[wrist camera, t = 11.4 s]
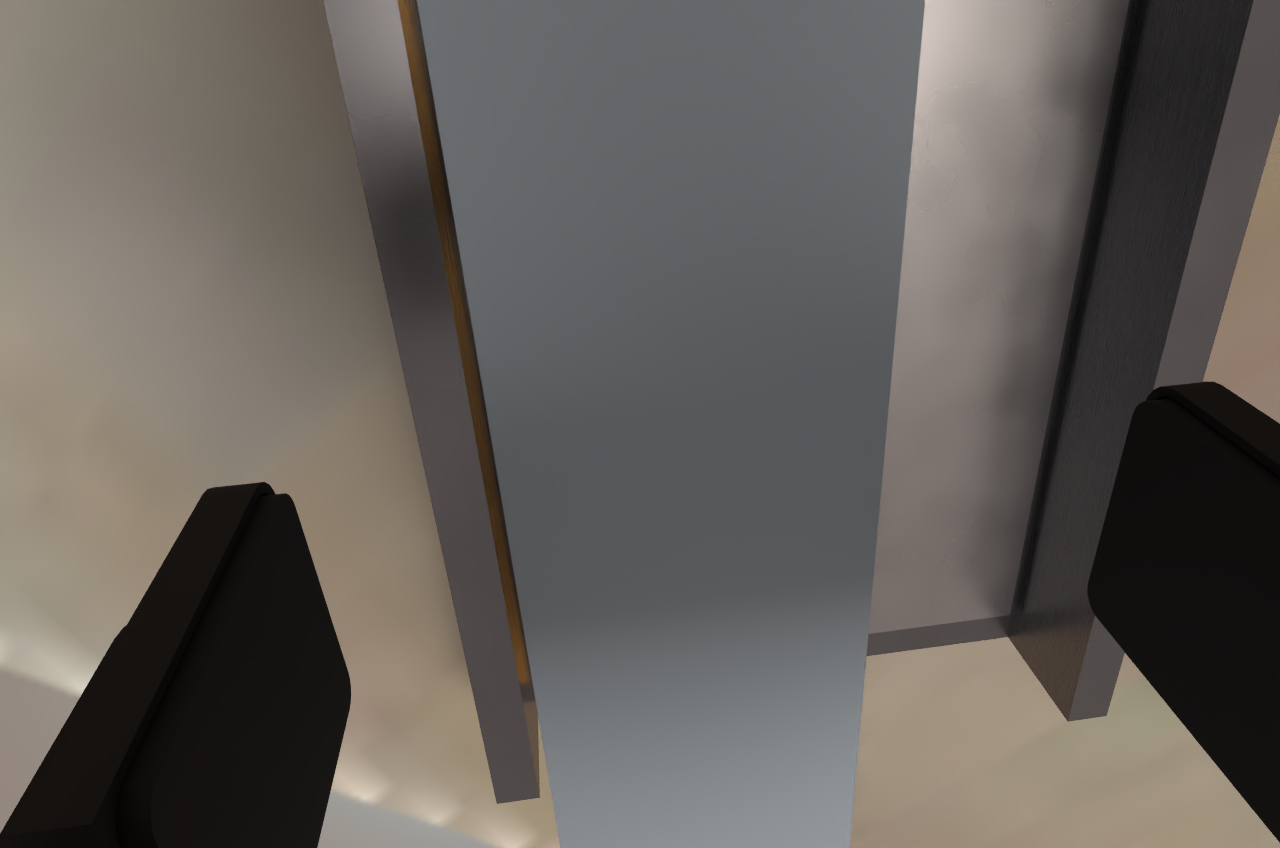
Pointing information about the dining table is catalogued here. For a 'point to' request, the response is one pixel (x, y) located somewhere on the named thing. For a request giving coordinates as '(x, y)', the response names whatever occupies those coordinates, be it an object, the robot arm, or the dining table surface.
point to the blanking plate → (686, 385)
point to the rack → (912, 314)
